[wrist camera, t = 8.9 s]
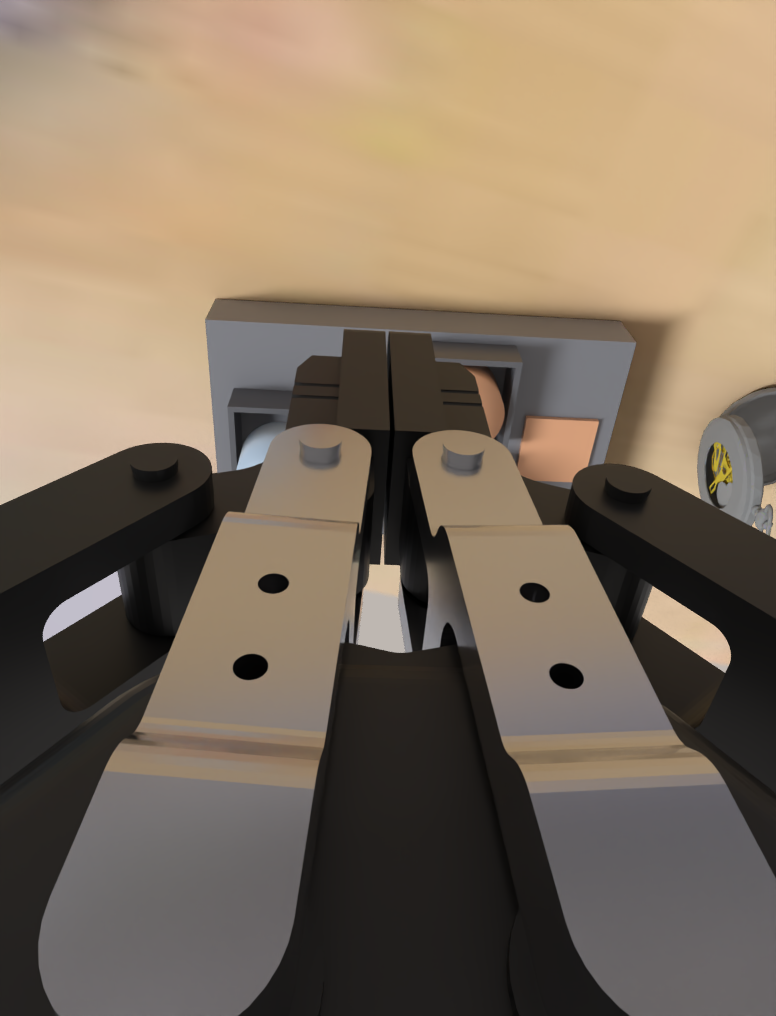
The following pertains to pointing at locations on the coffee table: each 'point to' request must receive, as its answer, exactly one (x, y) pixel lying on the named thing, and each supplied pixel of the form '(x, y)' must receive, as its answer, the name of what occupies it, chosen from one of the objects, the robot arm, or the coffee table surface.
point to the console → (456, 338)
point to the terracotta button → (489, 397)
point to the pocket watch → (741, 459)
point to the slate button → (259, 444)
